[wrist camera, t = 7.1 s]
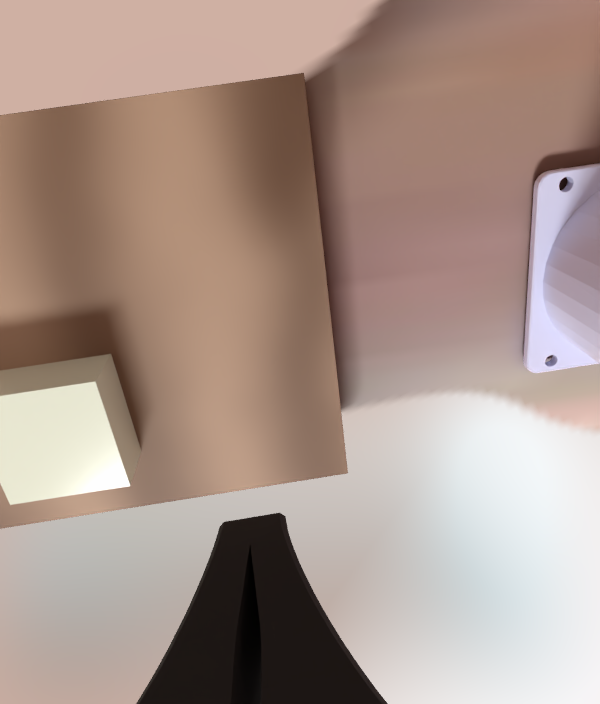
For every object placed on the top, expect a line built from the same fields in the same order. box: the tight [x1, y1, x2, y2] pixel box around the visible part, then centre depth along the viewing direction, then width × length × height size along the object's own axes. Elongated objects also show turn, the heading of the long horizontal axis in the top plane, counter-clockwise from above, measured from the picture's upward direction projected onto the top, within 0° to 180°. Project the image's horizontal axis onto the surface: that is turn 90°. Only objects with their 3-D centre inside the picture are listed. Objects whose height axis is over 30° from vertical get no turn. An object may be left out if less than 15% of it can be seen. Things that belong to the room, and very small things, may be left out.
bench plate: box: [0, 73, 348, 529], centre depth 19 cm, size 14×14×2 cm
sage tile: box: [0, 354, 141, 505], centre depth 18 cm, size 4×4×2 cm
